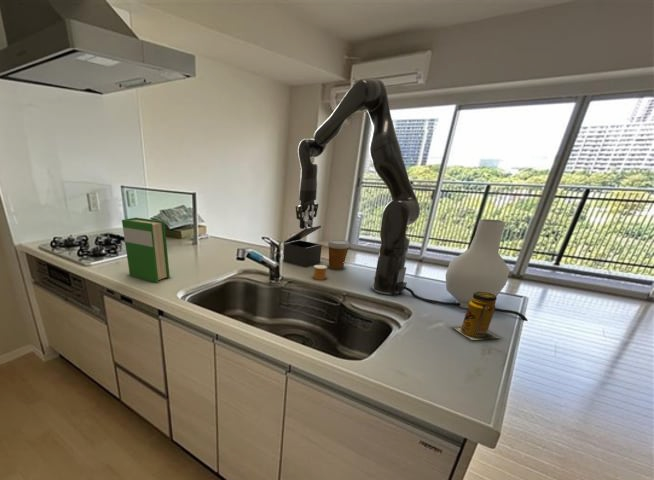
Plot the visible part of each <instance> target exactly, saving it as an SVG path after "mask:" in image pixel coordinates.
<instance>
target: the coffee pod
mask: <svg viewBox="0 0 654 480" xmlns="http://www.w3.org/2000/svg"><path fill="white" fill-rule="evenodd" d="M313 268H314V273H313V279H315V280H317V281H324V280H325V279H326V275H327V269H328V266H327V265H325V264H314V265H313Z"/></svg>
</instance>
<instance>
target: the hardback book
mask: <svg viewBox="0 0 654 480" xmlns="http://www.w3.org/2000/svg"><path fill="white" fill-rule="evenodd" d="M121 224H122V225H121V226H122V232H123V238H124V239H123V240H124V246H125V251H126V252H125V253H126V259H127V264H128V272H129V276H130V277H134V278H138V279H141V280H145V281H149V282H152V283H157V284H158V283H159V280H160V281H161V280H162V279H170V278H171V275H170V265H169V254H168V245H167V236H166V235H167V234H166V225H165V224H166V223H165V220H158V219H151V218H150V219H149V218H144V217H131V218H125V219H124V218H123V219H121Z"/></svg>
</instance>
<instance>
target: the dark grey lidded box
mask: <svg viewBox="0 0 654 480" xmlns="http://www.w3.org/2000/svg"><path fill="white" fill-rule="evenodd" d="M283 243H284V242H283ZM322 245H323V244H321V243H317V242H312V241H308V240H302V239H300V240H296V241H292V242H288V243H284V244H283V255H284V259H283V258H282V261H283V262H284V263H289V264H292V265H296V266H299V267H304V268H306V267H309V266H314V265H317V264H319V263H321V258H322V257H321V255H322Z"/></svg>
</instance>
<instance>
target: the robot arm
mask: <svg viewBox="0 0 654 480" xmlns="http://www.w3.org/2000/svg"><path fill="white" fill-rule="evenodd" d="M357 112H367V113H368V116H369V119H370V123H371V136H370V139H369V140H370V141H369V145H368V146H369V149H368V150H369V156H370V159H371V163H372V166H373V168H374V171H375V172H376V174H377V176H378V177H379V178H380V179H381V181H382V182H383V184H384V185H385V186H386V187H387V189H388V191H389V194H390V197H391V201H389V202H388V203H387V204H386V205H385V207H384V209H383V212H382V216H381V222H380V229H379V230H380V232H379V238H380V246H379V250H378V251H379V252H378V258H377V263H376V267H375V273H374V277H373V285H372V291H373V292H375V293H377V294H380V295H386V296H387V295H389V296H396V295H398V294H399V293H403V291H407V292H409V293H410V294H411V296H412V297H414V298H415V299H418V300H420V301H422V302H423V301H424V302H427V303H432V304H437V305H443V306H456V307H460V303H456V302H448V301H440V300H435V299H430V298H429V299H428V298H424V297H421V296H419V295H417V294H415V293H414V290H413V289H411V288H409V287H407V282H405V276H406V272H407V267H406V266H405V265H406V261H407V255H408V252H409V247H410V242H411V240H410V238H409V237H408V236H407V228H408V226H410V225H413V224H414V223H416V222H417V221H418V219H419V217H420V214H421V207H420V202H419V200H418V198H417V196H416V193H415V191H414V188H413V186H412V184H411V181H410V178H409V175H408V171H407V167H406V165H405V164H406V163H405V161H404V158H403V153H402V149H401V145H400V143H399V139H398V136H397V133H396V130H395V126H394V122H393V118H392V115H391V110H390V103H389V98H388V92H387V87H386V85H385V83H384V82H383V81H382V79H378V78H360V79H358V80H357V81H355V82H354V83H353V84H352V86H350V88H349V89H348V91H347V92H346V93H345V95H344V96H343V98H342V99H341V101H340V102H339V104H338V105H337V106H336V108H334V111H333V112H332V113H331V115H330V116H329V117H327V119H326V120H325V121H324V122H323V123H322V124H321V125H320V126H319V127H318V128H317V129H316V130H315V132H314V134H313V138H304V139H302V140H301V141H300V142H299V144H298V148H297V154H298V159H299V165H300V168H301V169H300V180H299V181H300V182H299V196H298V197H299V198H298V200H299V201H300V204H299V205H296V206H295V215H296V220H299V229H301V230H304V229H305V221H306V217H307V218H308V219H307V220H311V221H312V223H311V224H312V226H313V224H314V223H313V222H314V219H315V218H317V216H318V210H319V203H315V201H316V200H317V193H318V168H319V167H318V165H317V163H314V162H312V159H311V158H317V157H319V156H321V155H322V154H323V153H324V151H325V150H326V148H327V146H328V145H329V143H331V142H332V140H334V139H335V138H336V137H337V136H339V134H340V132H341V131H342V129H343V127H344V123H345V122H346V120H347V119H349V117H351V116H352V115H353V114H355V113H357ZM307 228H311V227H310V225H309V224H307ZM494 312H499V313H504V314H505V313H506V314H512V315H516V316H518V317H520V318H521V319H522V321H524V322H529V321H528V318H527V317H526V316H525V315H524V314H523V313H521V312H520V311H519V312H518V311H516V310H511V309H503V308H498V307H495V311H494Z"/></svg>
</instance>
